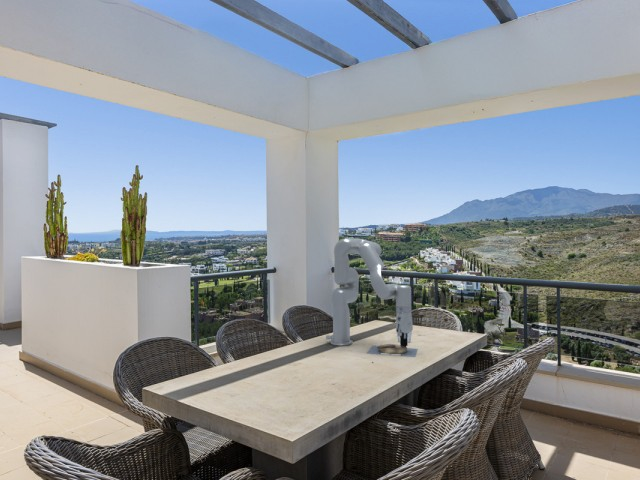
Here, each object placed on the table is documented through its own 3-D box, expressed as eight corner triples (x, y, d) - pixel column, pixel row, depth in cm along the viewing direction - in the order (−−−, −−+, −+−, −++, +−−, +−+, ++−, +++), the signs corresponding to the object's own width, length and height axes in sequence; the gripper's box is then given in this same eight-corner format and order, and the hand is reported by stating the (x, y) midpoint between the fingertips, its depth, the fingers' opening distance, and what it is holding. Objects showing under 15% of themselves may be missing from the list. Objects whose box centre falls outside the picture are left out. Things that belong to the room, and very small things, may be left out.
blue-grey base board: (366, 356, 215) (366, 352, 215) (372, 348, 232) (372, 345, 232) (415, 360, 208) (415, 356, 208) (418, 351, 224) (418, 348, 224)
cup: (408, 346, 237) (407, 324, 237) (393, 343, 242) (393, 322, 242) (415, 343, 244) (415, 321, 244) (400, 341, 249) (400, 320, 249)
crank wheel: (382, 354, 211) (382, 343, 211) (372, 348, 225) (372, 337, 225) (411, 353, 214) (411, 342, 215) (400, 346, 229) (400, 336, 229)
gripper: (403, 312, 210) (403, 349, 210) (416, 308, 222) (417, 344, 221) (389, 310, 214) (390, 347, 214) (403, 307, 226) (404, 342, 226)
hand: (403, 345), depth 218 cm, fingers closed
